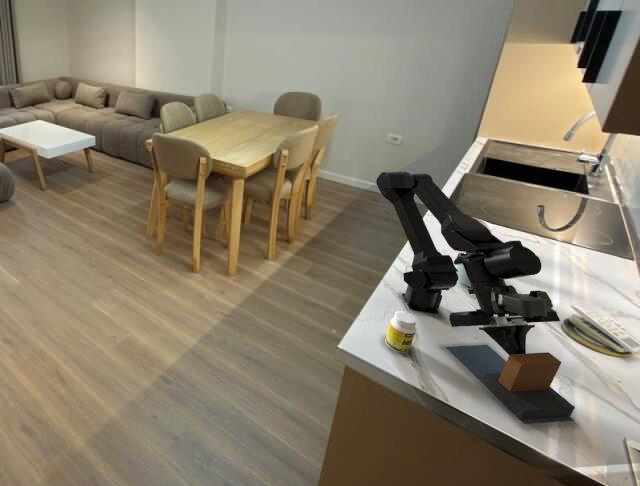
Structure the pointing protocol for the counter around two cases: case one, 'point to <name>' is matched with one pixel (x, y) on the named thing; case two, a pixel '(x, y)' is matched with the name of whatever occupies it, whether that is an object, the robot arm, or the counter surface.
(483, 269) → the robot arm
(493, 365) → the mat
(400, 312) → the supplement bottle
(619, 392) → the counter surface
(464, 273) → the cup
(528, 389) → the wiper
